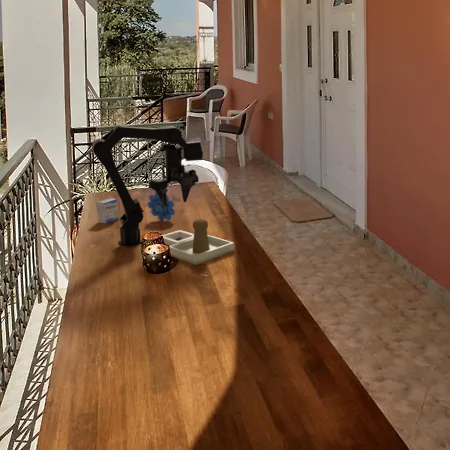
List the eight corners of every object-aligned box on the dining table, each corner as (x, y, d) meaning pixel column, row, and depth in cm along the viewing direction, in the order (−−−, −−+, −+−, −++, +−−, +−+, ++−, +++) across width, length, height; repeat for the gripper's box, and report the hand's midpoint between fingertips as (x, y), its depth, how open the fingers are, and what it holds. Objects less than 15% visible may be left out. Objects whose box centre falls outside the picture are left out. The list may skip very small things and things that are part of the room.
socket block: (177, 249, 201) (177, 242, 200) (158, 243, 208) (158, 236, 207) (199, 242, 208) (199, 235, 207) (180, 236, 215) (180, 229, 214)
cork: (201, 254, 193) (200, 223, 190) (188, 251, 197) (187, 220, 194) (213, 250, 197) (212, 219, 194) (200, 246, 201) (199, 216, 198)
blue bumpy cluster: (144, 222, 233) (142, 194, 229) (150, 218, 239) (149, 190, 235) (172, 224, 230) (170, 195, 226) (177, 219, 236) (176, 191, 233)
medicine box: (105, 224, 232) (103, 203, 230) (97, 222, 234) (95, 201, 232) (119, 219, 238) (117, 198, 236) (111, 217, 241) (109, 197, 238)
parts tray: (195, 264, 186) (195, 256, 186) (168, 254, 196) (167, 246, 195) (234, 250, 199) (234, 242, 198) (206, 242, 208) (206, 234, 207)
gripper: (166, 168, 193) (168, 213, 198) (208, 161, 206) (208, 203, 210) (147, 164, 201) (149, 207, 206) (188, 157, 213) (189, 198, 218)
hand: (175, 204), depth 210 cm, fingers open, 9 cm apart
